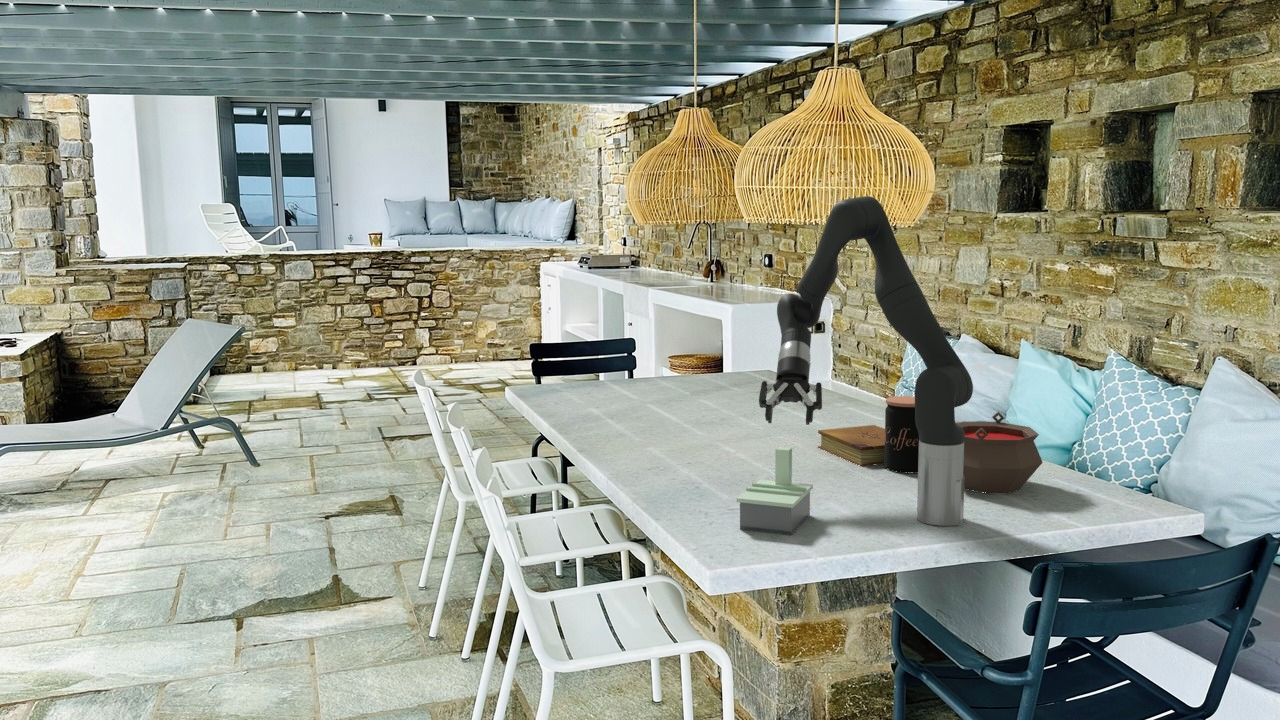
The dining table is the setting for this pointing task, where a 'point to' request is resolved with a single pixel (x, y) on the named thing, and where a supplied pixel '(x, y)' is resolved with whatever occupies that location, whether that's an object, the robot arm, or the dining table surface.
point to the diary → (855, 444)
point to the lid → (777, 485)
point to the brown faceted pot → (998, 455)
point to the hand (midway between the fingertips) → (788, 422)
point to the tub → (774, 517)
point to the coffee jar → (901, 435)
